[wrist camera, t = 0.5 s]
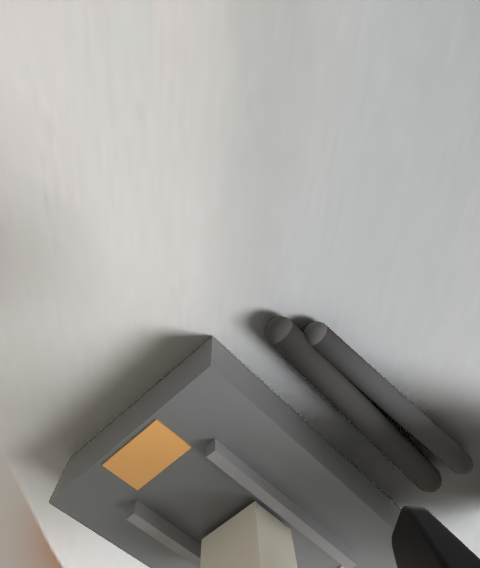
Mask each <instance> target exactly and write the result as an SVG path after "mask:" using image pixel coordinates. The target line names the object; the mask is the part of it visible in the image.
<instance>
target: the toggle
mask: <svg viewBox="0 0 480 568" xmlns="http://www.w3.org/2000/svg"><path fill="white" fill-rule="evenodd" d="M200 568H298V567H297V561H296V556H295V550H294V544H293V539H292V533H291V529H290V528H288V527H287V526H286V525H285V524H283V523H282V522H281V521H280V520H278V519H277V518H276V517H274V516H273V515H272V514H271V513H269V512H268V511H267V510H266V509H264V508H263V507H262V506H261V505H259V504H258V503H257V502H255V501H254V502H253V503H252V504H250V505H249V506H247V507H246V508H245V509H243V510H242V511H240V512H239V513H238V514H236V515H235V516H234V517H232V518H231V519H229V520H228V521H227V522H225V523H224V524H222V525H221V526H220V527H218V528H217V529H215V530H214V531H213V532H211V533H210V534H208V535H207V536H206V537H204V538H203V539H202V541H201V559H200Z"/></svg>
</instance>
